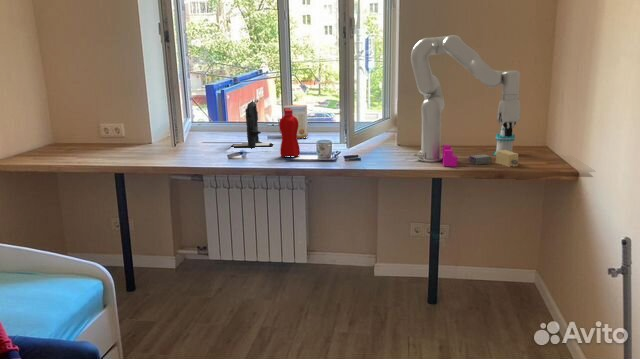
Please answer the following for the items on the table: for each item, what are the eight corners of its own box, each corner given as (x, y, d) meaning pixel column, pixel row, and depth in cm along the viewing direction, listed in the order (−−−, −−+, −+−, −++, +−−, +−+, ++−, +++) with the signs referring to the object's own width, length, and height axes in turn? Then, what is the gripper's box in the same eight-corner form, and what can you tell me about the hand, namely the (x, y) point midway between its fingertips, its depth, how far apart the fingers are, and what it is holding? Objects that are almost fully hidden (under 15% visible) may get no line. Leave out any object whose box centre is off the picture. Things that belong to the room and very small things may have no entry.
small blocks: (475, 164, 260) (475, 158, 259) (468, 162, 265) (469, 155, 264) (511, 161, 265) (511, 154, 264) (503, 158, 271) (504, 152, 270)
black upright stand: (235, 142, 334) (232, 96, 327) (276, 141, 333) (273, 95, 326) (225, 153, 303) (221, 102, 296) (270, 152, 302) (267, 101, 295)
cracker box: (308, 137, 343) (307, 104, 338) (306, 139, 337) (305, 105, 332) (286, 137, 345) (285, 104, 340) (284, 139, 339) (283, 106, 334)
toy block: (457, 166, 256) (458, 151, 254) (443, 165, 257) (444, 150, 255) (454, 160, 271) (456, 145, 269) (442, 159, 272) (443, 145, 270)
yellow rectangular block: (511, 168, 252) (512, 155, 251) (495, 162, 263) (496, 150, 262) (520, 167, 253) (521, 154, 252) (504, 161, 265) (505, 150, 263)
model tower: (515, 156, 274) (519, 97, 266) (495, 156, 276) (498, 97, 268) (512, 152, 284) (516, 95, 276) (493, 152, 286) (496, 95, 278)
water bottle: (286, 153, 296) (284, 108, 290) (302, 155, 290) (300, 109, 284) (275, 156, 289) (273, 110, 283) (291, 158, 283) (289, 111, 277)
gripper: (518, 95, 257) (516, 133, 262) (491, 98, 253) (490, 136, 257) (528, 97, 250) (526, 136, 255) (501, 99, 246) (499, 139, 251)
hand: (508, 136), depth 256 cm, fingers closed
